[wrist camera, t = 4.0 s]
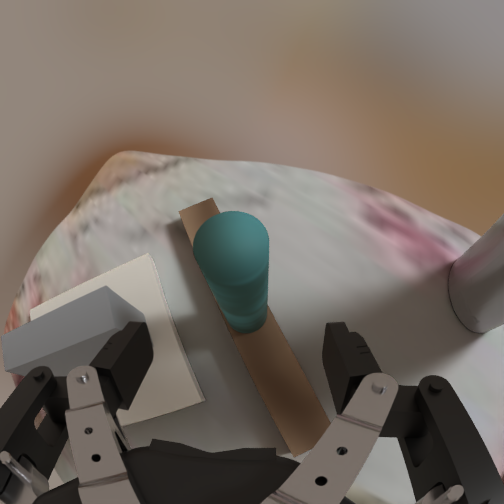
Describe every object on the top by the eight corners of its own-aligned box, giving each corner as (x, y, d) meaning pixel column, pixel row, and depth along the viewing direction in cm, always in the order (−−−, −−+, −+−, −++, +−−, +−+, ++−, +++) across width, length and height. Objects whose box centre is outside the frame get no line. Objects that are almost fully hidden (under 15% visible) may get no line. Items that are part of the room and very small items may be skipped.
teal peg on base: (215, 209, 28) (190, 103, 17) (331, 431, 18) (405, 470, 6) (183, 222, 28) (142, 120, 16) (291, 451, 17) (323, 519, 6)
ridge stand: (153, 260, 26) (118, 211, 19) (205, 400, 19) (175, 405, 12) (38, 314, 23) (-10, 286, 16) (65, 437, 17) (8, 439, 10)
